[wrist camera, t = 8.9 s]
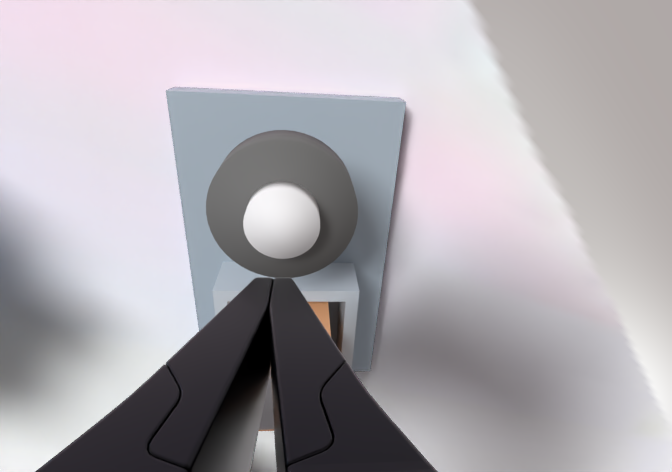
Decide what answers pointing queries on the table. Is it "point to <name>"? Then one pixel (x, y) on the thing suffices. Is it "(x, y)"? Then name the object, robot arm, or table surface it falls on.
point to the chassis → (357, 155)
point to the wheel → (282, 204)
